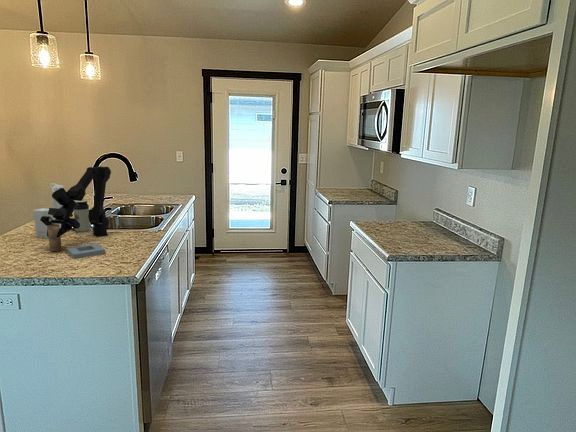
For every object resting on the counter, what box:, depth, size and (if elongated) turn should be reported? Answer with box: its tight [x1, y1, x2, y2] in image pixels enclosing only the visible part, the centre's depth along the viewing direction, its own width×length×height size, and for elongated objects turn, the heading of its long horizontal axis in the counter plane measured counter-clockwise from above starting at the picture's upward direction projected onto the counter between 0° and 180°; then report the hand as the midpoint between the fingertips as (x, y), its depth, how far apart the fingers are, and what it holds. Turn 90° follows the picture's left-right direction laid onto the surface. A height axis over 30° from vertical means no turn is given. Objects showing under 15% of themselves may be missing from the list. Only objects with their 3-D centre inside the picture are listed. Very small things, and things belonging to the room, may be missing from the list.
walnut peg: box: [48, 223, 62, 252], centre depth 198 cm, size 5×5×12 cm
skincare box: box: [32, 207, 55, 239], centre depth 223 cm, size 8×7×16 cm
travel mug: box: [73, 198, 91, 232], centre depth 239 cm, size 8×8×18 cm
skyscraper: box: [49, 183, 65, 228], centre depth 238 cm, size 8×8×28 cm
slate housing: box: [65, 242, 106, 260], centre depth 198 cm, size 14×14×2 cm
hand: (52, 236), depth 196 cm, fingers closed on walnut peg, 5 cm apart
